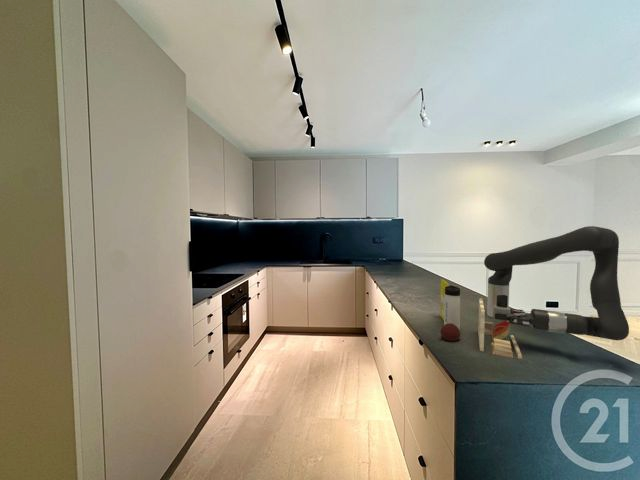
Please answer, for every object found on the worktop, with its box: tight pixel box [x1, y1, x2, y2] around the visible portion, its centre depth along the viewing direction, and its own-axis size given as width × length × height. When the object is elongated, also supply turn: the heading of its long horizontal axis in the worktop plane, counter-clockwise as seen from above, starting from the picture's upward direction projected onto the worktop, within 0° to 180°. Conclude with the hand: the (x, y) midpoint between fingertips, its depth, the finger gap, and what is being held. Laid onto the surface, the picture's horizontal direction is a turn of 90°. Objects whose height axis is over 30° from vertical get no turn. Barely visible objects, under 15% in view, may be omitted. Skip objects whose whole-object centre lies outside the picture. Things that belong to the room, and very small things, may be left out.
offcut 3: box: [491, 349, 514, 358], centre depth 99 cm, size 7×6×2 cm
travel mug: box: [443, 284, 461, 330], centre depth 120 cm, size 6×7×20 cm
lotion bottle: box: [491, 295, 511, 343], centre depth 106 cm, size 6×6×20 cm
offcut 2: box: [490, 341, 514, 358], centre depth 99 cm, size 6×5×2 cm
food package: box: [439, 278, 450, 321], centre depth 133 cm, size 15×1×20 cm, turn 168°
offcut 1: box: [493, 339, 512, 352], centre depth 98 cm, size 6×5×2 cm
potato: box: [440, 323, 461, 342], centre depth 110 cm, size 7×8×7 cm
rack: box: [477, 297, 523, 360], centre depth 105 cm, size 20×13×16 cm, turn 151°
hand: (494, 313), depth 107 cm, fingers closed on lotion bottle, 5 cm apart
